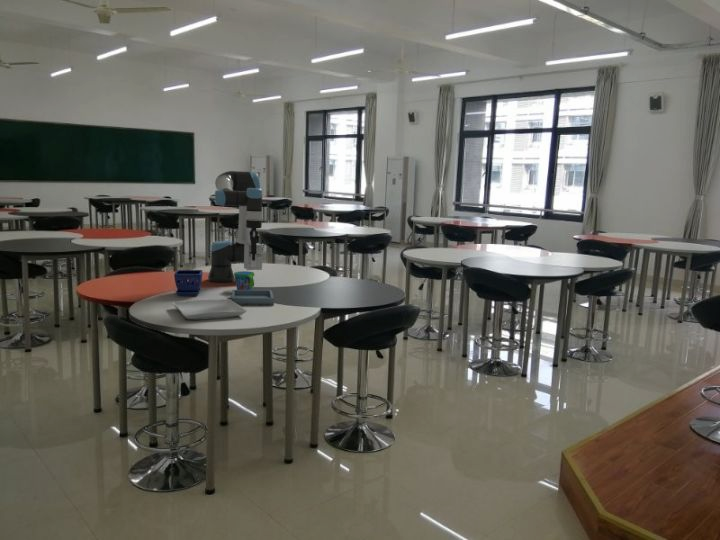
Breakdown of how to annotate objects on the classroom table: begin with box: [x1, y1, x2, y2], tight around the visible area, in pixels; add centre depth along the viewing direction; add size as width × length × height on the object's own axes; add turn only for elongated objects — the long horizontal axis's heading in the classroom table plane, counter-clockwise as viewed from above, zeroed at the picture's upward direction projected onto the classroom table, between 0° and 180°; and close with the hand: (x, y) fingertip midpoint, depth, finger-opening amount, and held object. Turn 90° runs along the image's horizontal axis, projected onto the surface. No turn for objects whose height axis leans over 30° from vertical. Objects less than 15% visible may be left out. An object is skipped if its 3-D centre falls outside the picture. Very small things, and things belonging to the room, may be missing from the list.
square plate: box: [171, 298, 247, 321], centre depth 247 cm, size 27×27×4 cm
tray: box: [231, 289, 275, 306], centre depth 275 cm, size 20×20×4 cm
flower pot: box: [174, 269, 203, 297], centre depth 282 cm, size 13×13×12 cm
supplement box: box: [243, 242, 264, 271], centre depth 272 cm, size 7×7×13 cm
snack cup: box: [233, 270, 255, 290], centre depth 297 cm, size 16×10×10 cm
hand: (253, 265), depth 272 cm, fingers closed on supplement box, 8 cm apart
